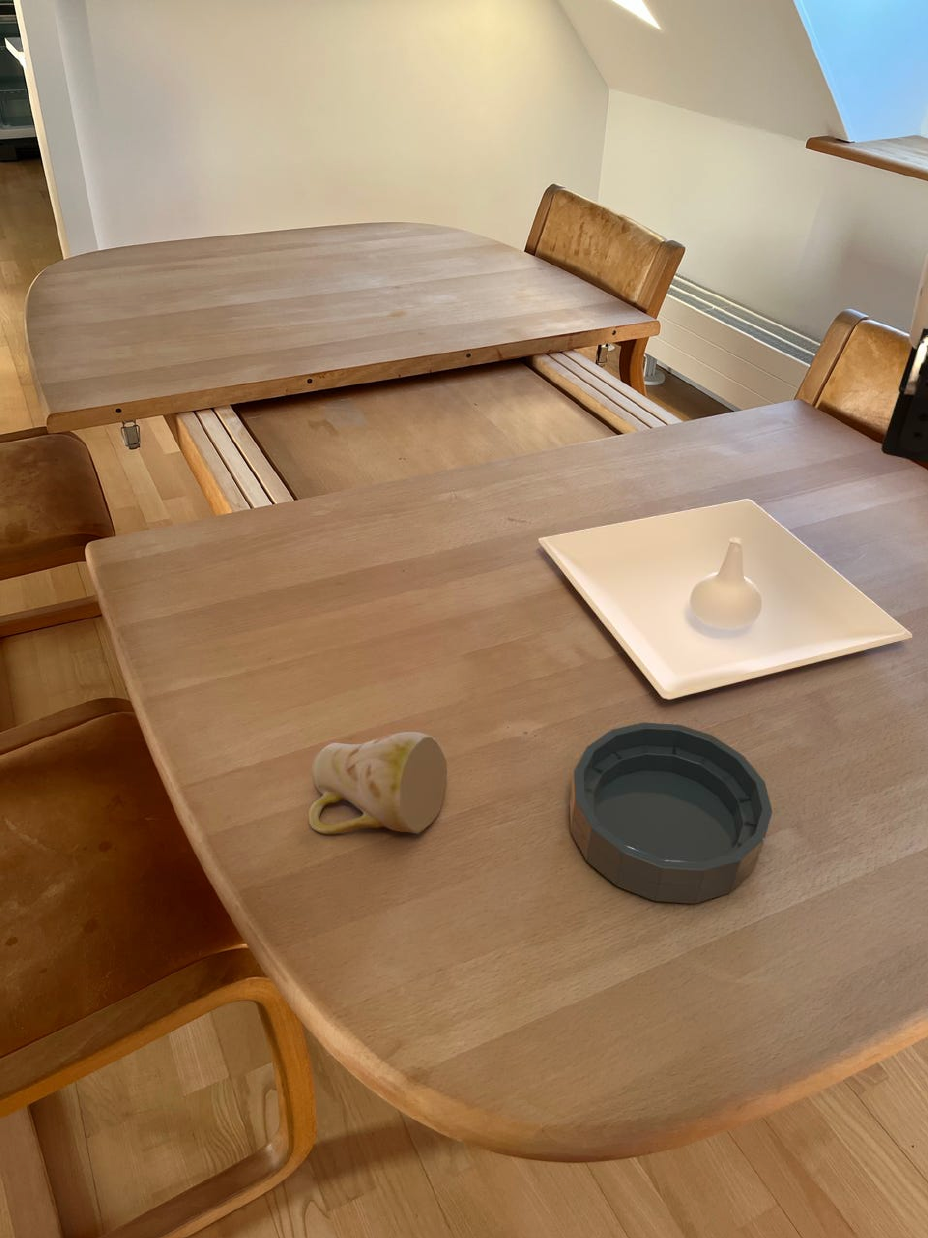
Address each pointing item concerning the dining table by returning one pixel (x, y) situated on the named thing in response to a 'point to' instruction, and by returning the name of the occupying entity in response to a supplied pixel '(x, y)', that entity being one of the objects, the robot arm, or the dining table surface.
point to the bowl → (668, 812)
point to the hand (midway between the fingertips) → (915, 424)
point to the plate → (686, 553)
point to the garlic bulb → (727, 594)
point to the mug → (382, 782)
